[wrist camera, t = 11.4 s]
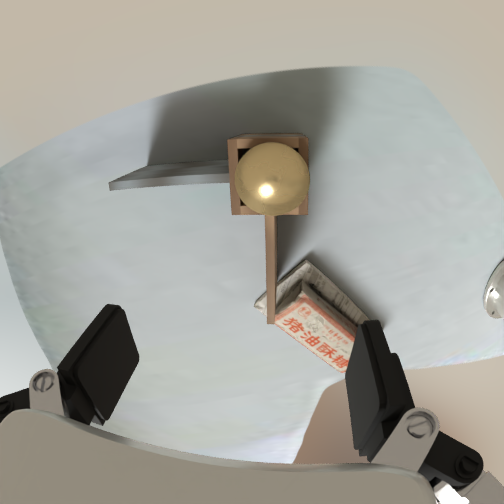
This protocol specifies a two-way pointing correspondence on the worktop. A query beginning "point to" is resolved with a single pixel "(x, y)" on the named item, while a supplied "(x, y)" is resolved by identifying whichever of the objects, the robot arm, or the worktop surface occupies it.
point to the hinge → (226, 174)
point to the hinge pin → (272, 179)
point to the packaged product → (316, 314)
